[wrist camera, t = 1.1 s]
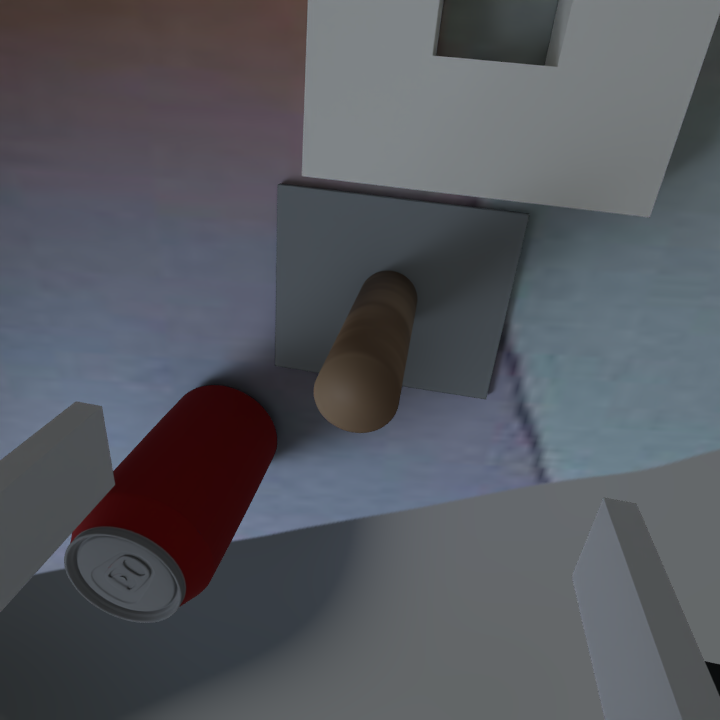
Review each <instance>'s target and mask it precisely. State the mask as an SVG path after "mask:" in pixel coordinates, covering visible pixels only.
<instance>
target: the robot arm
mask: <svg viewBox="0 0 720 720" xmlns="http://www.w3.org/2000/svg"><path fill="white" fill-rule="evenodd" d="M114 485H115V481H114V475H113V469H112V463H111V457H110V451H109V445H108V439H107V433H106V428H105V422H104V416H103V410H102V406H98V405H93V404H87V403H82V402H75V403H73V404H72V405H71V406H70V407H68V408H67V409H66V410H64V411H63V412H62V413H61V414H59V415H58V416H57V417H55V418H54V419H53V420H52V421H50V422H49V423H48V424H46V425H45V426H44V427H43V428H41V429H40V430H39V431H37V432H36V433H35V434H34V435H32V436H31V437H30V438H28V439H27V440H26V441H25V442H23V443H22V444H21V445H20V446H18V447H17V448H16V449H14V450H13V451H12V452H11V453H9V454H8V455H7V456H5V457H4V458H3V459H2V460H0V612H1V611H2V610H3V608H4V607H5V606H6V605H7V604H8V603H9V602H10V601H11V600H12V599H13V597H14V596H15V595H16V594H17V593H18V592H19V591H20V590H21V589H22V587H23V586H24V585H25V584H26V583H27V582H28V581H29V580H30V579H31V577H32V576H33V575H34V574H35V573H36V572H37V571H38V570H39V569H40V567H41V566H42V565H43V564H44V563H45V562H46V561H47V560H48V559H49V558H50V556H51V555H52V554H53V553H54V552H55V551H56V550H57V549H58V548H59V546H60V545H61V544H62V543H63V542H64V541H65V540H66V539H67V538H68V536H69V535H70V534H71V533H72V532H73V531H74V530H75V529H76V528H77V526H78V525H79V524H80V523H81V522H82V521H83V520H84V519H85V518H86V517H87V515H88V514H89V513H90V512H91V511H92V510H93V509H94V508H95V507H96V505H97V504H98V503H99V502H100V501H101V500H102V499H103V498H104V497H105V495H106V494H107V493H108V492H109V491H110V490H111V489H112V488H113V487H114ZM572 579H573V584H574V588H575V592H576V597H577V601H578V606H579V610H580V614H581V619H582V623H583V627H584V631H585V636H586V640H587V645H588V649H589V653H590V658H591V662H592V666H593V671H594V675H595V679H596V684H597V688H598V692H599V697H600V701H601V705H602V710H603V714H604V718H605V720H720V664H715V663H710V662H706V661H704V659H703V657H702V655H701V652H700V650H699V647H698V645H697V643H696V640H695V638H694V636H693V633H692V631H691V629H690V627H689V624H688V622H687V620H686V617H685V615H684V613H683V610H682V608H681V606H680V603H679V601H678V599H677V597H676V594H675V592H674V589H673V587H672V585H671V583H670V580H669V578H668V576H667V573H666V571H665V569H664V566H663V564H662V562H661V560H660V557H659V555H658V553H657V550H656V548H655V546H654V543H653V541H652V539H651V536H650V534H649V532H648V529H647V527H646V525H645V522H644V520H643V518H642V515H641V513H640V511H639V508H638V506H637V504H636V503H631V502H625V501H620V500H614V499H609V498H603V500H602V502H601V505H600V507H599V510H598V512H597V515H596V517H595V520H594V522H593V525H592V527H591V530H590V532H589V535H588V537H587V540H586V542H585V545H584V547H583V550H582V552H581V555H580V557H579V559H578V562H577V564H576V567H575V569H574V572H573V574H572Z"/></svg>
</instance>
